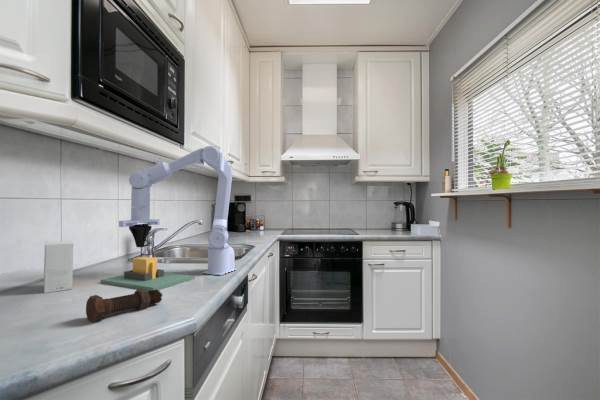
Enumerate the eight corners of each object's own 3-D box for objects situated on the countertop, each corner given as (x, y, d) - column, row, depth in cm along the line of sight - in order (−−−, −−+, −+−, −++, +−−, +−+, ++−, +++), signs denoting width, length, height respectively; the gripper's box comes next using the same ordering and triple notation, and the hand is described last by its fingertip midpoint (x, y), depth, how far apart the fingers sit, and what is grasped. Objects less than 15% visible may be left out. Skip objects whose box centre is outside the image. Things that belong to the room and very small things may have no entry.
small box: (72, 289, 89) (73, 243, 90) (43, 293, 85) (44, 244, 86) (70, 283, 96) (71, 240, 96) (43, 287, 92) (44, 242, 92)
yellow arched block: (143, 274, 103) (143, 256, 104) (159, 277, 101) (159, 258, 101) (132, 277, 100) (132, 258, 100) (148, 279, 97) (148, 260, 97)
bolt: (160, 312, 77) (91, 329, 65) (151, 298, 80) (83, 312, 68) (168, 293, 76) (98, 307, 63) (158, 279, 78) (90, 290, 66)
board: (145, 272, 111) (145, 264, 111) (194, 278, 103) (194, 269, 103) (100, 283, 97) (100, 273, 97) (153, 291, 88) (153, 280, 88)
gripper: (149, 206, 117) (149, 243, 117) (112, 207, 103) (112, 248, 103) (164, 207, 114) (163, 245, 114) (127, 207, 101) (127, 250, 100)
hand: (140, 247), depth 108 cm, fingers closed
